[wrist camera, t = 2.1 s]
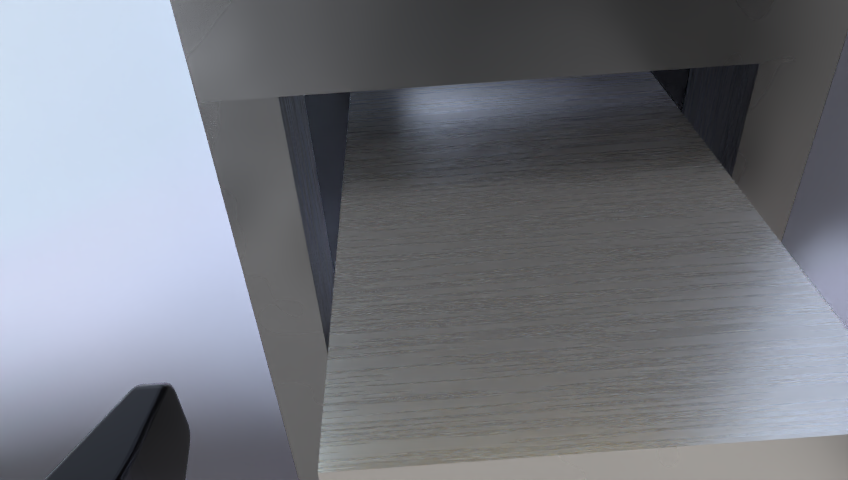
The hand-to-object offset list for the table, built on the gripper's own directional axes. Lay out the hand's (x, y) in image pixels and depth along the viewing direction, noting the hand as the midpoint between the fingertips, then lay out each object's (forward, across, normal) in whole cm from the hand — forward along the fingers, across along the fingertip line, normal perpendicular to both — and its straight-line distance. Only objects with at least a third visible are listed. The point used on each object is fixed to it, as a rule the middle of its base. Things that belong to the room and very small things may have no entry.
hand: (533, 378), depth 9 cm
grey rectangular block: (+4, 0, 0) cm, 4 cm away
